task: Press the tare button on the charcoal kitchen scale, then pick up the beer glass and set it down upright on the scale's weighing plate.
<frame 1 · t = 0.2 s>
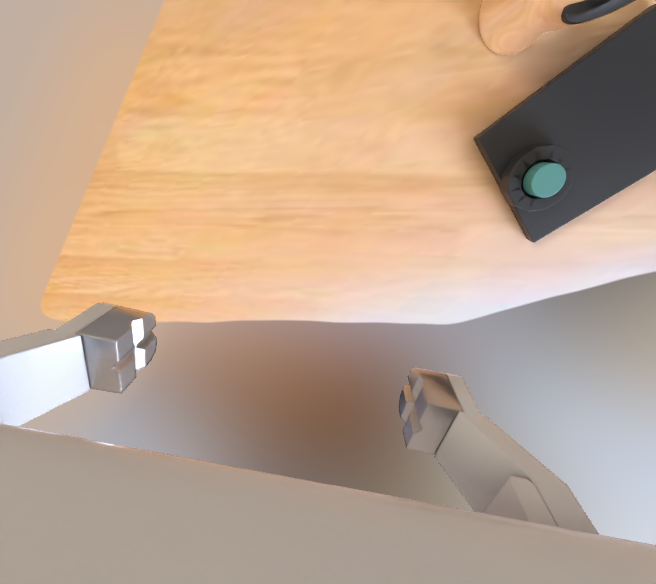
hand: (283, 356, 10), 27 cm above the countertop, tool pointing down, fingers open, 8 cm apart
beer glass: (513, 12, 27), on the countertop
tare button: (543, 179, 29), point 3 cm above the countertop, slide at 0.1 cm
scale: (579, 139, 30), on the countertop
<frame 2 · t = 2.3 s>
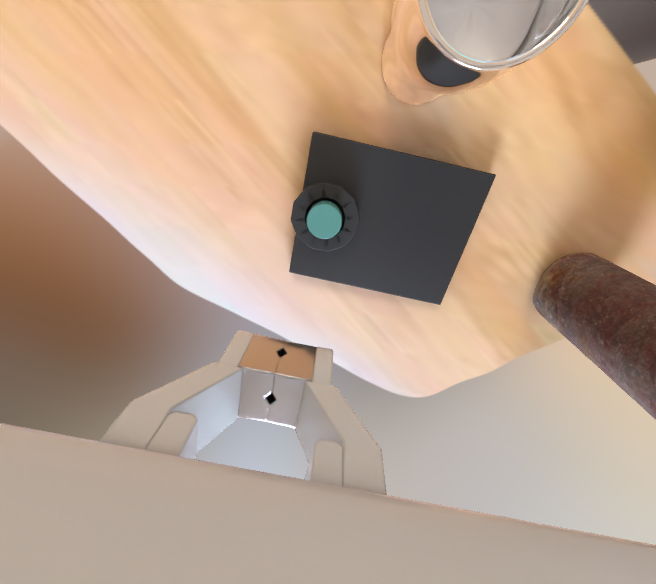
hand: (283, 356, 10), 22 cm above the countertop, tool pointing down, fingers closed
candle: (563, 285, 32), on the countertop
beer glass: (419, 60, 24), on the countertop
tare button: (324, 219, 27), point 3 cm above the countertop, slide at 0.1 cm
scale: (382, 224, 30), on the countertop
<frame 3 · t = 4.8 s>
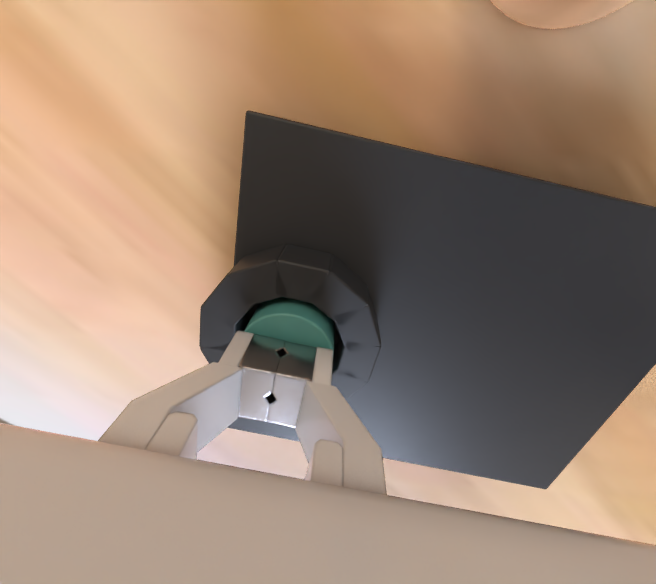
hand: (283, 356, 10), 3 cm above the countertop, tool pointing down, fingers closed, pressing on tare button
tare button: (290, 340, 10), point 3 cm above the countertop, slide at -0.6 cm, touching gripper
scale: (428, 331, 13), on the countertop
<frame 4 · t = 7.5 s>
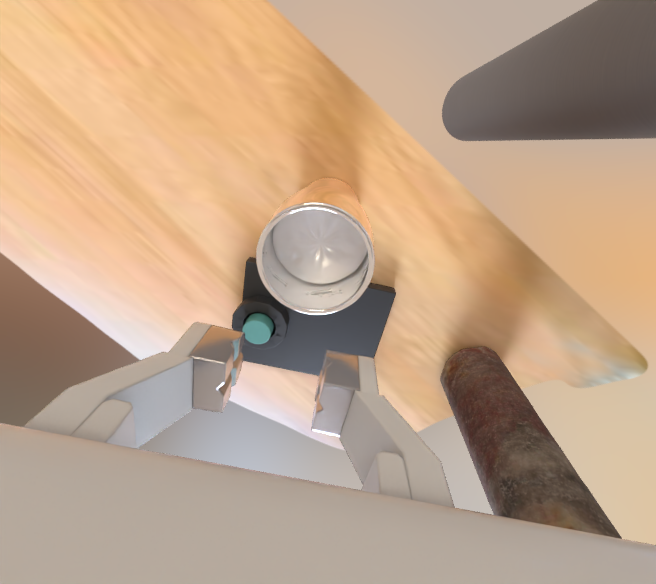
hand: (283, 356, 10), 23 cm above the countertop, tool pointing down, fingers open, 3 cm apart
candle: (467, 367, 38), on the countertop
beer glass: (328, 209, 30), on the countertop
tare button: (258, 328, 33), point 3 cm above the countertop, slide at 0.1 cm
scale: (311, 322, 36), on the countertop
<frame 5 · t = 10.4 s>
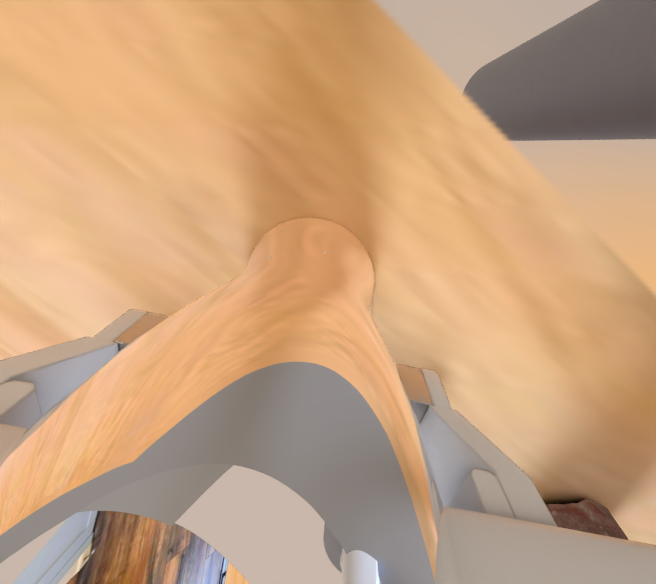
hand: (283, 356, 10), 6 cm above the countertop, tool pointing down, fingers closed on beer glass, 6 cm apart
candle: (549, 520, 23), on the countertop
beer glass: (311, 277, 15), on the countertop, touching gripper
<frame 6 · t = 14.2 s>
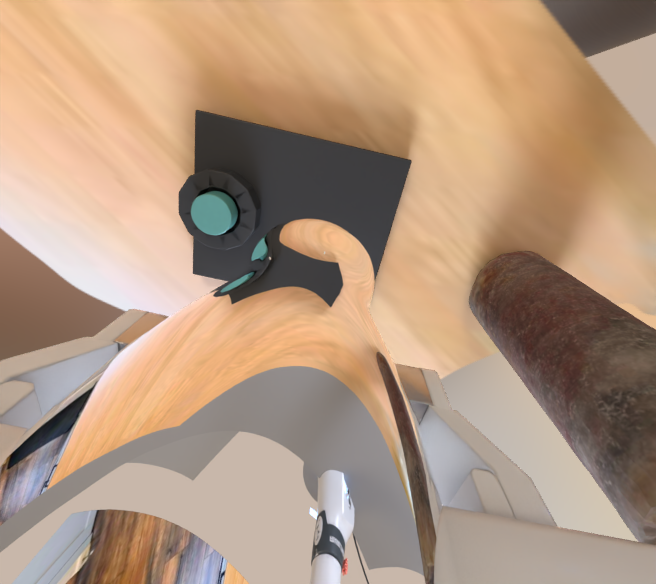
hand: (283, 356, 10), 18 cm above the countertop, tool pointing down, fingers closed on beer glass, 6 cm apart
candle: (504, 287, 28), on the countertop
beer glass: (311, 277, 15), point 12 cm above the countertop, touching gripper
tare button: (215, 213, 23), point 3 cm above the countertop, slide at 0.1 cm
scale: (294, 219, 26), on the countertop
when the fingers open (7 cm above the countertop, at t = 17.9 s): beer glass stays where it is, resting on scale.
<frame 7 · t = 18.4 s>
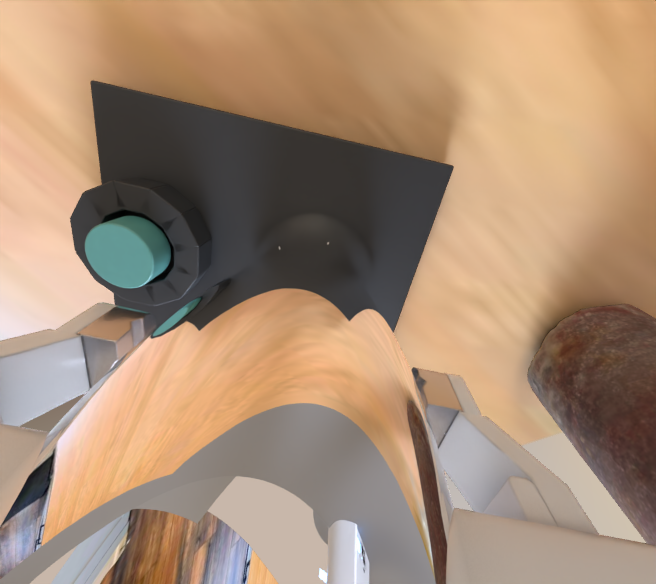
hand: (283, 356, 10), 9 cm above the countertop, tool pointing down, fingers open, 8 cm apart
candle: (577, 350, 19), on the countertop
beer glass: (313, 269, 16), point 1 cm above the countertop, touching scale
tare button: (130, 252, 14), point 3 cm above the countertop, slide at 0.1 cm
scale: (266, 253, 17), on the countertop
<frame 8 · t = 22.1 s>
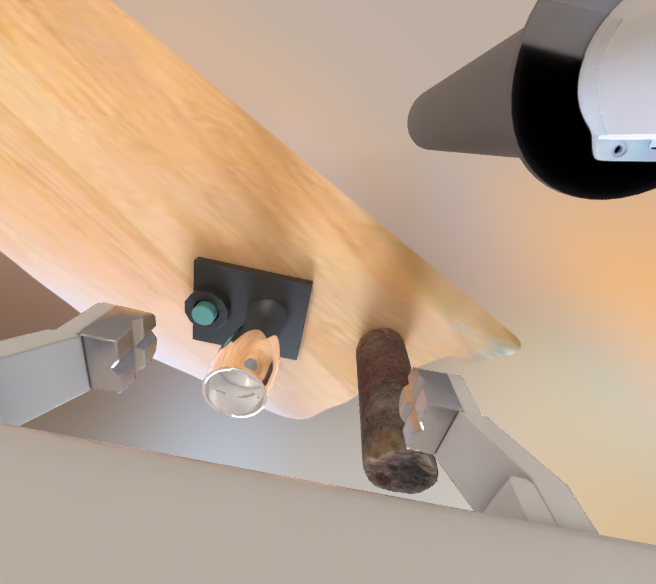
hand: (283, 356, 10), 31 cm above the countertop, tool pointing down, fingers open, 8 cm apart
candle: (379, 346, 47), on the countertop
beer glass: (268, 316, 44), point 1 cm above the countertop, touching scale
tare button: (204, 313, 42), point 3 cm above the countertop, slide at 0.1 cm
scale: (251, 309, 45), on the countertop
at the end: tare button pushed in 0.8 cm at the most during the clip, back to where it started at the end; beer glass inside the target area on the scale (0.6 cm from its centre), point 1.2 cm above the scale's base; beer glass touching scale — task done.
